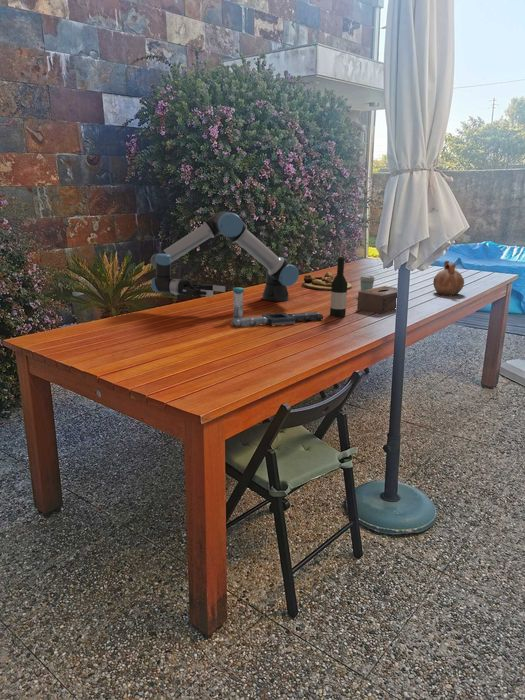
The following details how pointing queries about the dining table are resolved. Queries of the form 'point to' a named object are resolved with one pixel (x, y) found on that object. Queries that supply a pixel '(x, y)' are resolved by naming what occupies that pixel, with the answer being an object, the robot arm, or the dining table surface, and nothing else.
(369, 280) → the coffee cup
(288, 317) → the chain ends
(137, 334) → the dining table surface
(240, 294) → the steel pin
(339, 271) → the wine bottle
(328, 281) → the wooden plate with food
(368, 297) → the tissue box cover
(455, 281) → the jug
